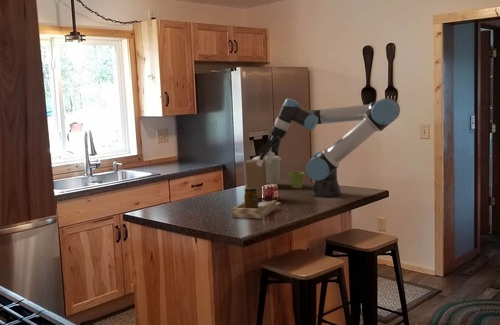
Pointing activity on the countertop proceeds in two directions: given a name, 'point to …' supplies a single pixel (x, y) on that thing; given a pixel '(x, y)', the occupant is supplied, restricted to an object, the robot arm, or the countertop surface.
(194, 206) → the countertop surface
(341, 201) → the countertop surface
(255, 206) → the condiment
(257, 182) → the block
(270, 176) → the canister
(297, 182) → the plant pot
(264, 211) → the open wooden frame
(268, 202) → the trivet
